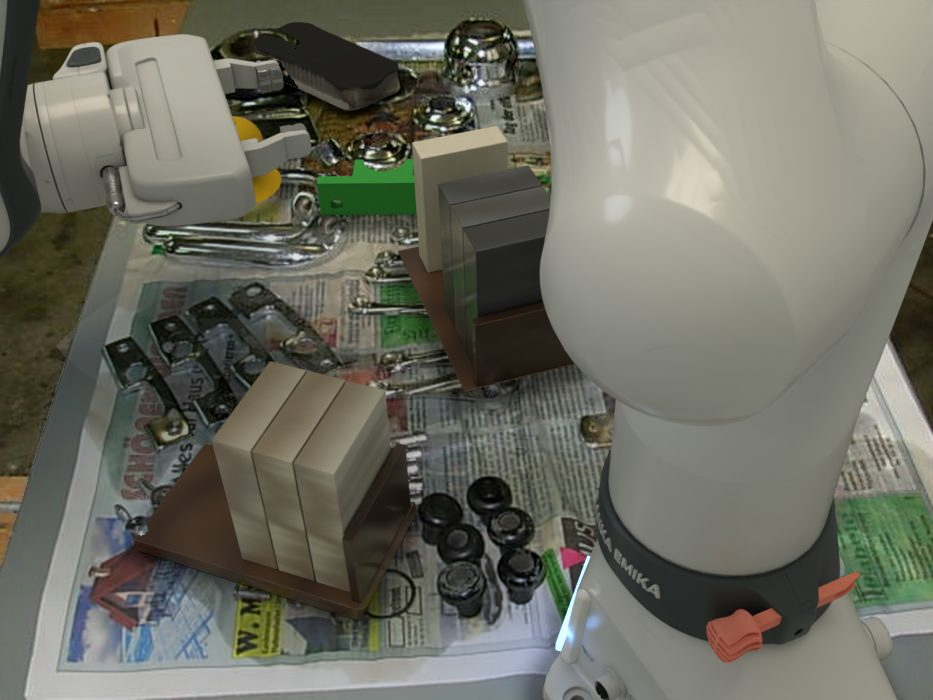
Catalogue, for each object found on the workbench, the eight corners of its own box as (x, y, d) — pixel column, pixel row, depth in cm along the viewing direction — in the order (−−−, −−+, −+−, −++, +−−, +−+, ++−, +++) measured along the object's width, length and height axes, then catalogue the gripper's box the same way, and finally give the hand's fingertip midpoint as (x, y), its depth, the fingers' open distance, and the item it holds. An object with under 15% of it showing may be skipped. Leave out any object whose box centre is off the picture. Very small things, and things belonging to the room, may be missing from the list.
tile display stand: (416, 513, 74) (405, 381, 66) (360, 621, 68) (340, 491, 60) (207, 454, 78) (172, 323, 70) (136, 551, 72) (89, 420, 64)
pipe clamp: (449, 201, 101) (448, 158, 98) (448, 226, 98) (446, 182, 95) (326, 201, 101) (321, 158, 98) (321, 226, 98) (316, 182, 95)
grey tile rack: (590, 371, 84) (600, 234, 75) (464, 403, 82) (459, 265, 73) (509, 237, 97) (509, 107, 88) (398, 261, 94) (387, 130, 86)
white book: (508, 255, 93) (508, 141, 85) (427, 273, 91) (420, 158, 84) (497, 238, 94) (497, 125, 87) (419, 255, 93) (411, 142, 86)
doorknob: (238, 160, 107) (302, 185, 103) (179, 201, 102) (244, 228, 98) (224, 91, 102) (291, 114, 98) (161, 130, 97) (230, 156, 93)
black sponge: (248, 73, 119) (242, 42, 117) (306, 44, 124) (302, 13, 121) (353, 125, 111) (349, 92, 109) (412, 92, 116) (410, 60, 113)
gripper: (97, 183, 67) (322, 140, 70) (74, 33, 81) (261, 3, 84) (121, 265, 71) (332, 222, 74) (95, 109, 85) (273, 78, 88)
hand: (294, 104), depth 79 cm, fingers open, 8 cm apart
